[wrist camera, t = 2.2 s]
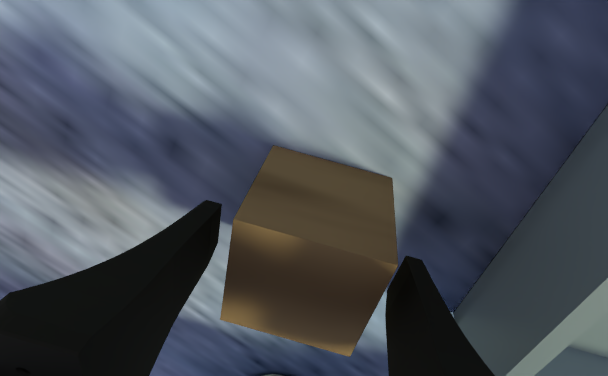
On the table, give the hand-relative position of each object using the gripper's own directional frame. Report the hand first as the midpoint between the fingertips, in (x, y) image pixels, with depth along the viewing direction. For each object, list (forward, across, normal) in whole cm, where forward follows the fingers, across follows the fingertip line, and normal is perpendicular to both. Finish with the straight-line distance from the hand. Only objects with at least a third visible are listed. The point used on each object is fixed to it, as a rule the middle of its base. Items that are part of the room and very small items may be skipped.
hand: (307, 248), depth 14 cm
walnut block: (+3, 0, 0) cm, 3 cm away
